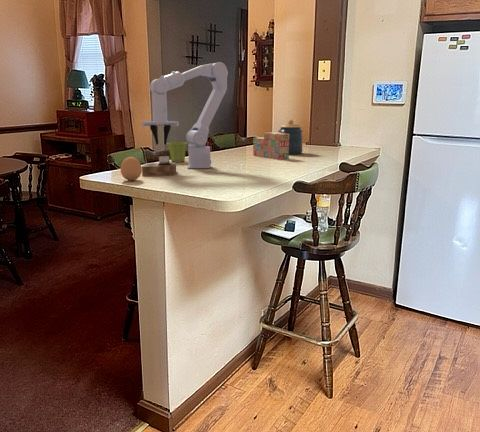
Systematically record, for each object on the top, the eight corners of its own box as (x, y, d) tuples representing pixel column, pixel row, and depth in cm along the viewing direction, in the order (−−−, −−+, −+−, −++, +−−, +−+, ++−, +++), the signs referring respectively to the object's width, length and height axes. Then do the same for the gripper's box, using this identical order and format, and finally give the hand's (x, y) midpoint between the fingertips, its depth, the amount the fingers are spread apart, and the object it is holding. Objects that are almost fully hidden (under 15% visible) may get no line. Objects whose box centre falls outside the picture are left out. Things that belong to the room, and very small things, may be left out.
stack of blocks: (252, 155, 242) (252, 131, 239) (262, 155, 245) (262, 131, 242) (279, 160, 225) (279, 133, 222) (289, 159, 228) (289, 133, 225)
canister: (303, 154, 244) (304, 120, 240) (278, 154, 245) (279, 120, 240) (301, 152, 257) (301, 119, 253) (277, 152, 257) (277, 119, 253)
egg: (123, 183, 164) (121, 158, 162) (119, 179, 170) (118, 156, 168) (144, 181, 167) (143, 157, 165) (139, 178, 173) (138, 155, 171)
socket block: (176, 171, 189) (175, 162, 189) (174, 175, 180) (173, 165, 179) (146, 171, 189) (145, 162, 188) (142, 175, 179) (141, 166, 178)
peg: (170, 164, 186) (169, 155, 185) (169, 166, 182) (168, 157, 181) (160, 164, 186) (159, 156, 185) (158, 166, 182) (158, 157, 181)
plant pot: (163, 162, 217) (162, 143, 215) (174, 160, 225) (173, 141, 223) (181, 163, 213) (181, 144, 211) (191, 160, 222) (190, 142, 220)
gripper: (178, 109, 192) (179, 143, 196) (143, 109, 192) (144, 143, 195) (177, 110, 186) (178, 144, 189) (140, 110, 185) (142, 145, 188)
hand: (161, 144), depth 191 cm, fingers open, 3 cm apart
